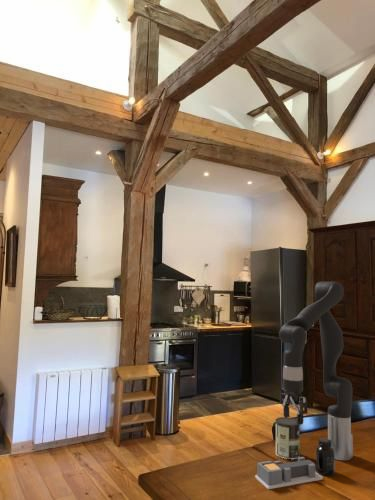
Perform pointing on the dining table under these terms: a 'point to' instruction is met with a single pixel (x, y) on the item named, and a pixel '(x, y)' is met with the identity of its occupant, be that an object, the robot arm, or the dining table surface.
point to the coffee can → (287, 438)
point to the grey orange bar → (292, 468)
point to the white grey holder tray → (275, 476)
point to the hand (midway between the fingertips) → (293, 420)
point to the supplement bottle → (325, 457)
